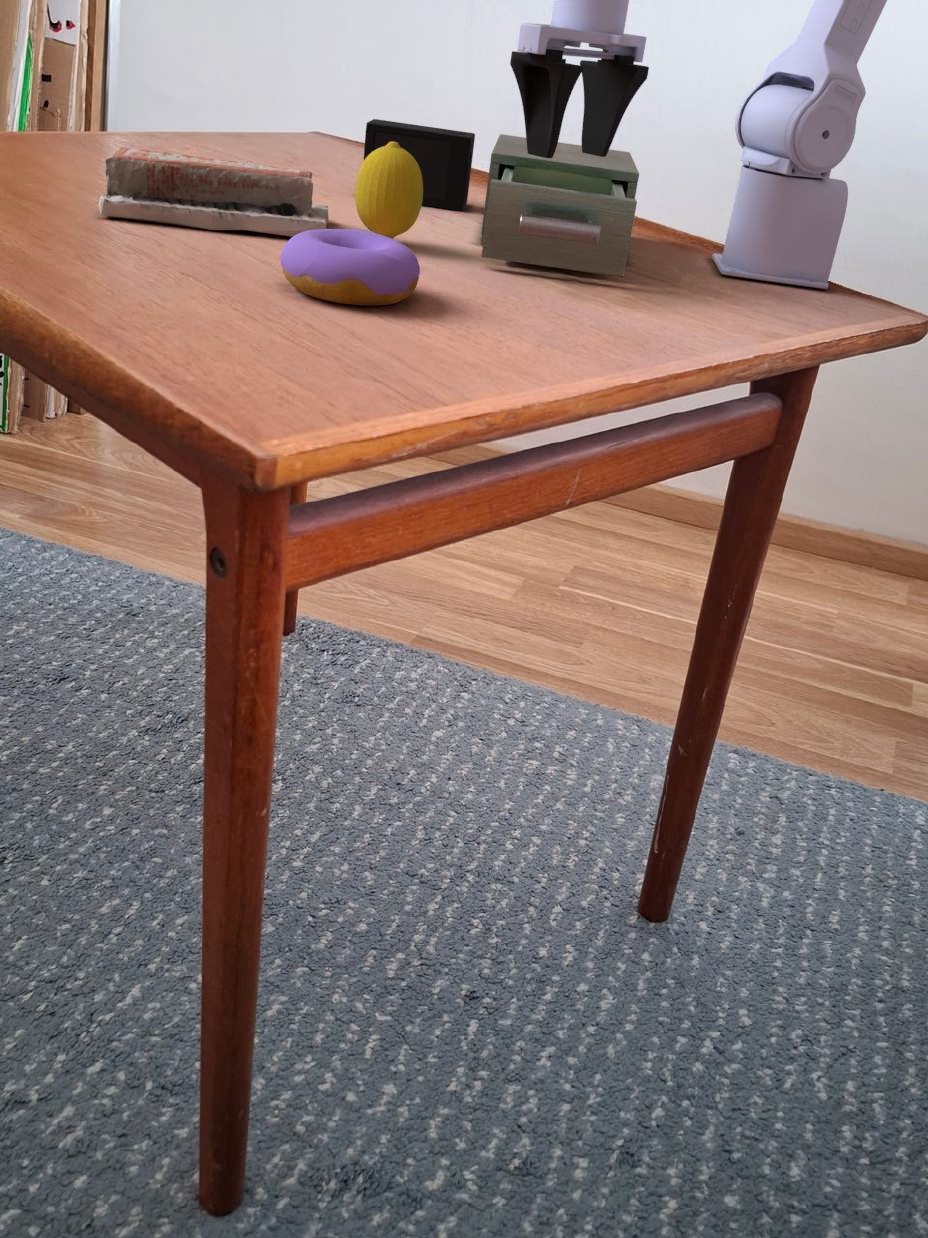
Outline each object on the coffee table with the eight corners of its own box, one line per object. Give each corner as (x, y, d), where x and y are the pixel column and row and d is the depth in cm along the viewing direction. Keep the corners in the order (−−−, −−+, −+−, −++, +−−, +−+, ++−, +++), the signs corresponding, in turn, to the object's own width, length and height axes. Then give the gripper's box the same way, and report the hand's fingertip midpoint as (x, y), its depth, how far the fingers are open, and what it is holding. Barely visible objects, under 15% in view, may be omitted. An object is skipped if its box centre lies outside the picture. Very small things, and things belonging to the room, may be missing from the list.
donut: (249, 271, 83) (265, 200, 82) (356, 293, 89) (373, 228, 88) (324, 309, 77) (343, 233, 75) (435, 330, 83) (454, 260, 81)
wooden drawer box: (622, 264, 104) (639, 173, 101) (479, 244, 104) (491, 152, 101) (615, 233, 118) (630, 151, 115) (489, 215, 118) (499, 133, 115)
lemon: (408, 254, 97) (419, 149, 93) (343, 243, 98) (351, 139, 94) (424, 243, 102) (434, 143, 98) (361, 232, 103) (369, 133, 99)
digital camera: (469, 203, 123) (477, 131, 120) (463, 211, 119) (472, 136, 115) (369, 189, 124) (375, 116, 120) (360, 196, 119) (366, 121, 116)
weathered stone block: (95, 153, 92) (118, 137, 101) (96, 218, 94) (119, 197, 103) (329, 180, 94) (332, 162, 103) (325, 243, 97) (328, 220, 105)
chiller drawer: (626, 290, 91) (640, 211, 88) (477, 269, 91) (487, 189, 88) (616, 243, 108) (628, 176, 105) (490, 226, 108) (499, 158, 105)
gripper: (585, -40, 83) (555, 165, 90) (690, -21, 94) (656, 162, 100) (506, -49, 87) (482, 149, 93) (615, -30, 97) (587, 147, 104)
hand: (567, 155), depth 97 cm, fingers open, 7 cm apart
